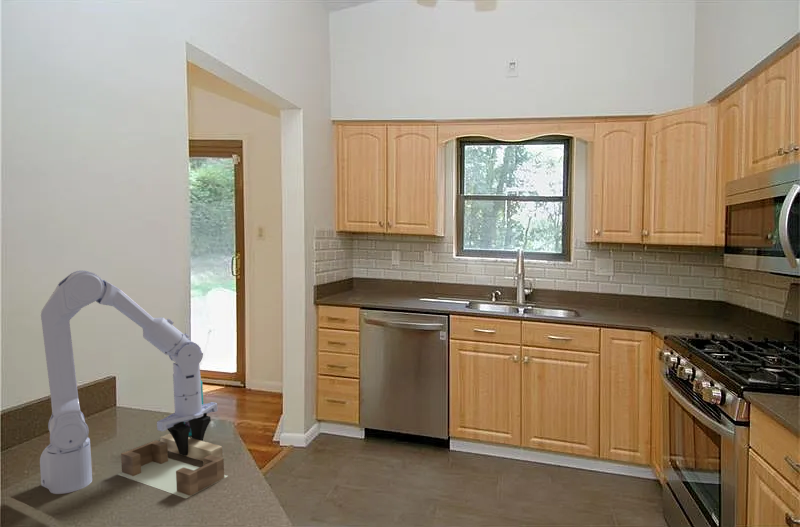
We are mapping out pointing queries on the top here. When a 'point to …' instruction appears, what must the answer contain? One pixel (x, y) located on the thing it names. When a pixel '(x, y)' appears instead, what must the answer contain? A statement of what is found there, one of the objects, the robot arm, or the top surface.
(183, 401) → the robot arm
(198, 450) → the slat
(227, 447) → the top surface
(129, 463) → the left end cap
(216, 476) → the right end cap
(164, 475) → the base board
